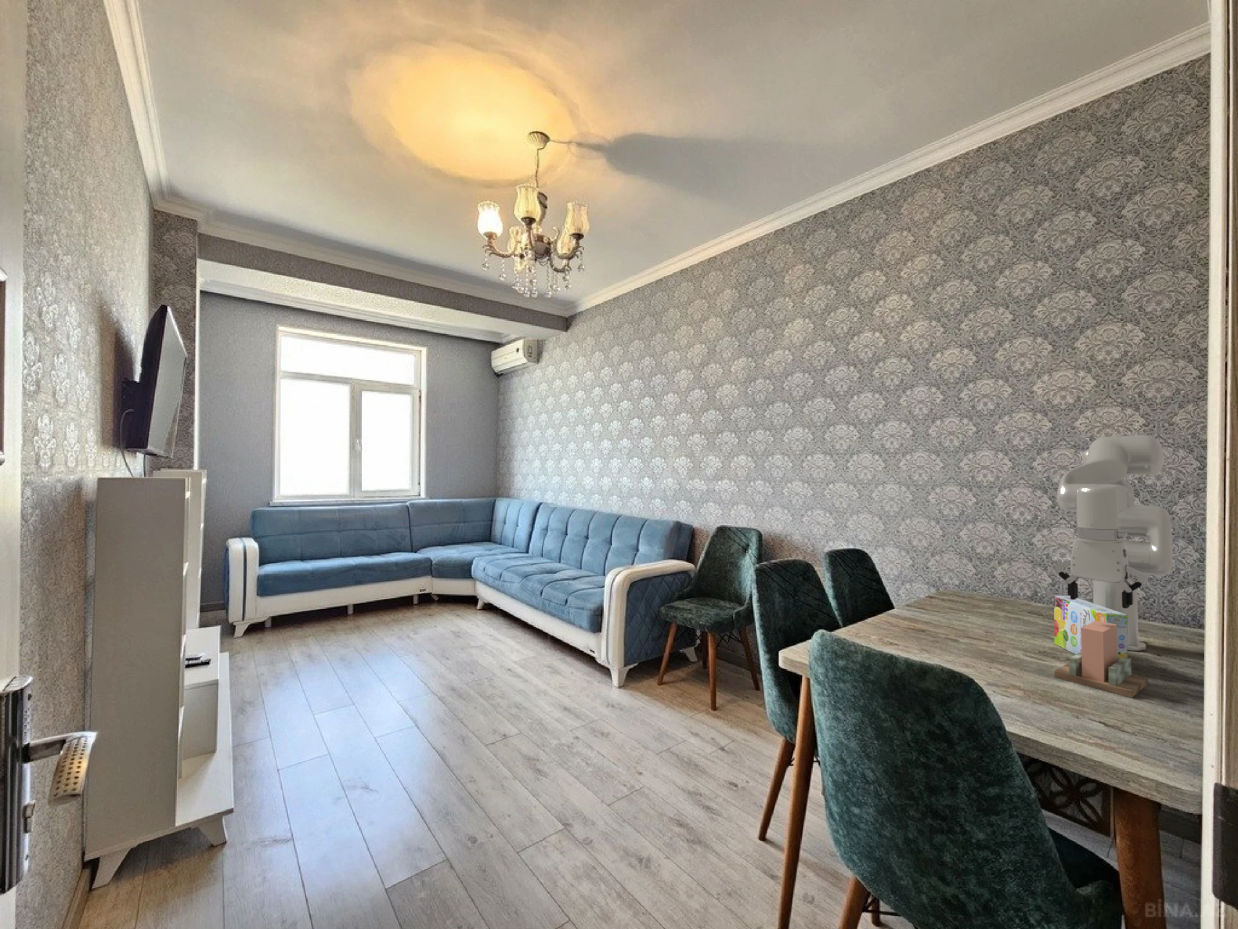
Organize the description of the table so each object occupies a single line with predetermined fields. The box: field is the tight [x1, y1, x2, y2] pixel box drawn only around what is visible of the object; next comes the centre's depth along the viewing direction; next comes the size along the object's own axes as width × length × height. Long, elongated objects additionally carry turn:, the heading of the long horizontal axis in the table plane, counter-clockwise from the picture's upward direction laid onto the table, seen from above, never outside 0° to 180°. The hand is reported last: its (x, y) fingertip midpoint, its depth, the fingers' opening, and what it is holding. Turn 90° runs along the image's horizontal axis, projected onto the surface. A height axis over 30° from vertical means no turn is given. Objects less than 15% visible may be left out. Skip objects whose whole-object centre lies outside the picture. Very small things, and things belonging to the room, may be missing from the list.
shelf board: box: [1053, 651, 1149, 699], centre depth 124 cm, size 14×14×6 cm
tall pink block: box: [1081, 621, 1118, 682], centre depth 124 cm, size 11×4×12 cm, turn 123°
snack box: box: [1053, 595, 1128, 661], centre depth 140 cm, size 21×6×15 cm, turn 168°
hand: (1099, 603), depth 125 cm, fingers open, 9 cm apart
